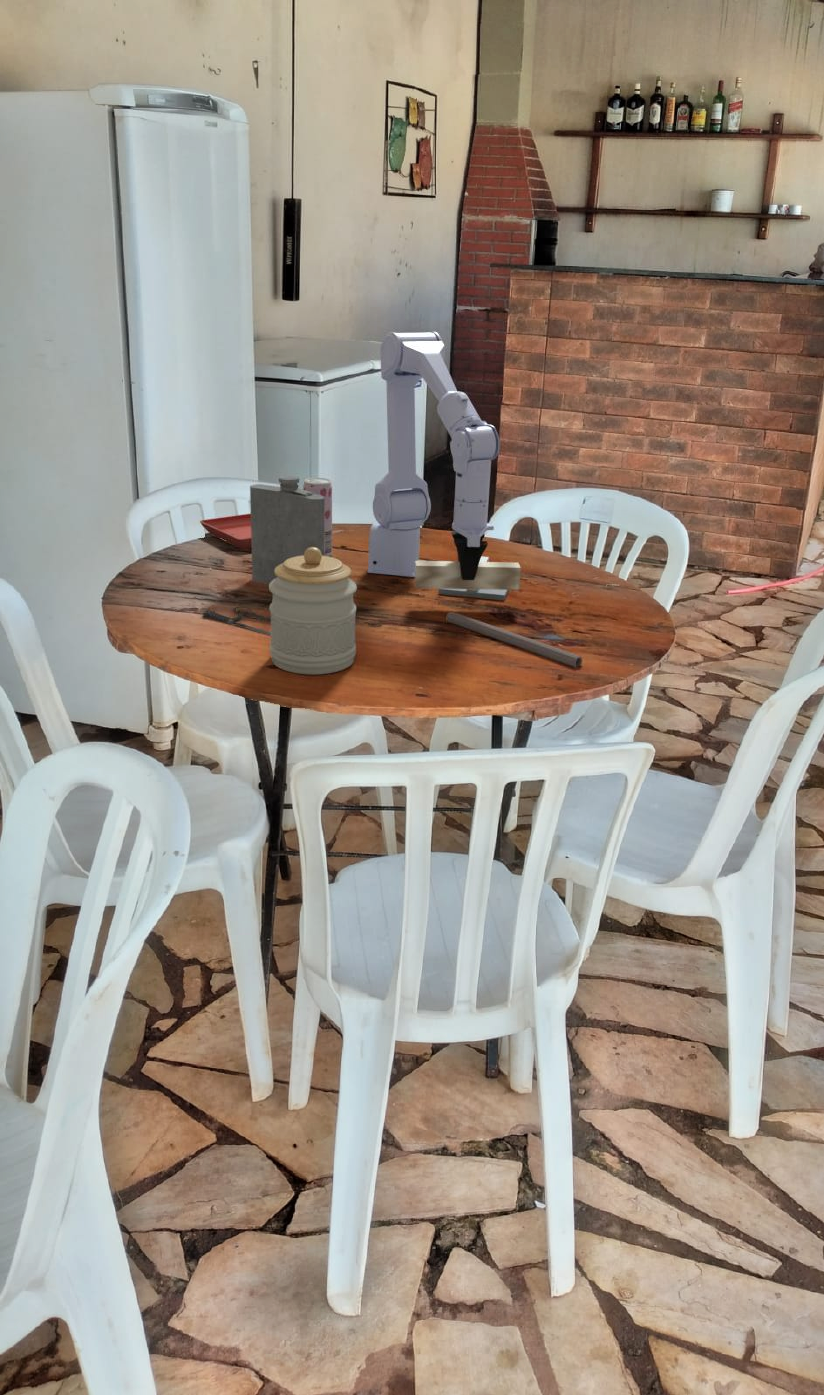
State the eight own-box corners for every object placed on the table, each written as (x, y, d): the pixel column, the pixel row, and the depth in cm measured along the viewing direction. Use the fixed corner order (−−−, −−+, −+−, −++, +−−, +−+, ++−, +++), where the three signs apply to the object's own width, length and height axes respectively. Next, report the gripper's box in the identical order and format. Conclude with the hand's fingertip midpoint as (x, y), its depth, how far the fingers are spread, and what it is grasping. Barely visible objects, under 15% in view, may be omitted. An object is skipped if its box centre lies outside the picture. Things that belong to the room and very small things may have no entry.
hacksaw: (198, 618, 183) (197, 611, 182) (238, 598, 190) (238, 590, 190) (312, 655, 171) (312, 647, 171) (351, 632, 179) (351, 624, 178)
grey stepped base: (438, 594, 198) (439, 572, 196) (452, 572, 210) (453, 552, 209) (504, 600, 196) (505, 579, 194) (514, 578, 208) (515, 558, 207)
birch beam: (415, 588, 188) (416, 565, 186) (414, 582, 191) (415, 560, 189) (519, 589, 189) (520, 567, 187) (516, 584, 192) (518, 562, 190)
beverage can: (303, 551, 221) (302, 477, 215) (331, 551, 221) (331, 477, 215) (303, 559, 215) (303, 483, 209) (332, 559, 216) (333, 483, 210)
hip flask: (248, 580, 202) (245, 472, 194) (263, 575, 205) (260, 468, 197) (317, 597, 194) (316, 485, 186) (330, 592, 197) (331, 481, 189)
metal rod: (453, 621, 186) (454, 610, 185) (581, 667, 168) (582, 655, 167) (446, 623, 184) (446, 612, 184) (573, 670, 167) (575, 657, 166)
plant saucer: (198, 534, 231) (197, 519, 230) (272, 524, 241) (272, 509, 240) (239, 555, 218) (239, 539, 217) (316, 543, 228) (316, 527, 227)
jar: (280, 642, 172) (278, 533, 165) (361, 648, 171) (363, 538, 164) (261, 673, 161) (258, 557, 154) (348, 679, 159) (350, 562, 152)
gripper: (500, 509, 177) (494, 589, 183) (490, 489, 191) (485, 564, 196) (457, 508, 177) (452, 588, 182) (450, 488, 190) (446, 563, 196)
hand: (467, 576), depth 189 cm, fingers closed on birch beam, 3 cm apart
